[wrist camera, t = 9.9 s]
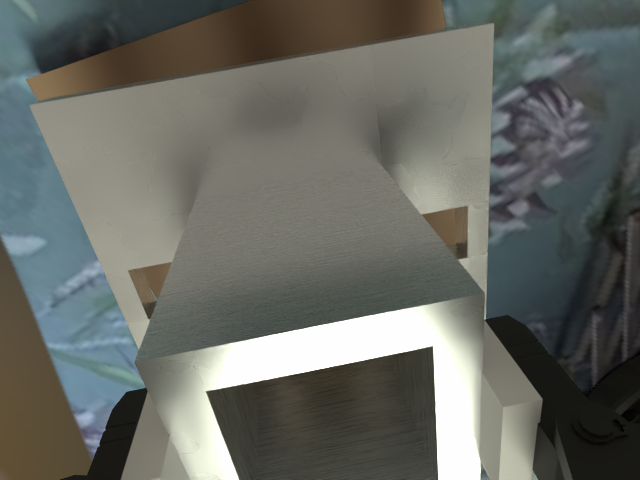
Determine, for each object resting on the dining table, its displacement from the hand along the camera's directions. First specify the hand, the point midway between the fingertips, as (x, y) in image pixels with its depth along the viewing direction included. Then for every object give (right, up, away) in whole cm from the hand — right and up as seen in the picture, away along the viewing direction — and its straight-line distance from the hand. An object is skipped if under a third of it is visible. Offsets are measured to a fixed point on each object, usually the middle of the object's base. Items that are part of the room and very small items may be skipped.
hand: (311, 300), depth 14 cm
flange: (0, +2, +3) cm, 3 cm away
